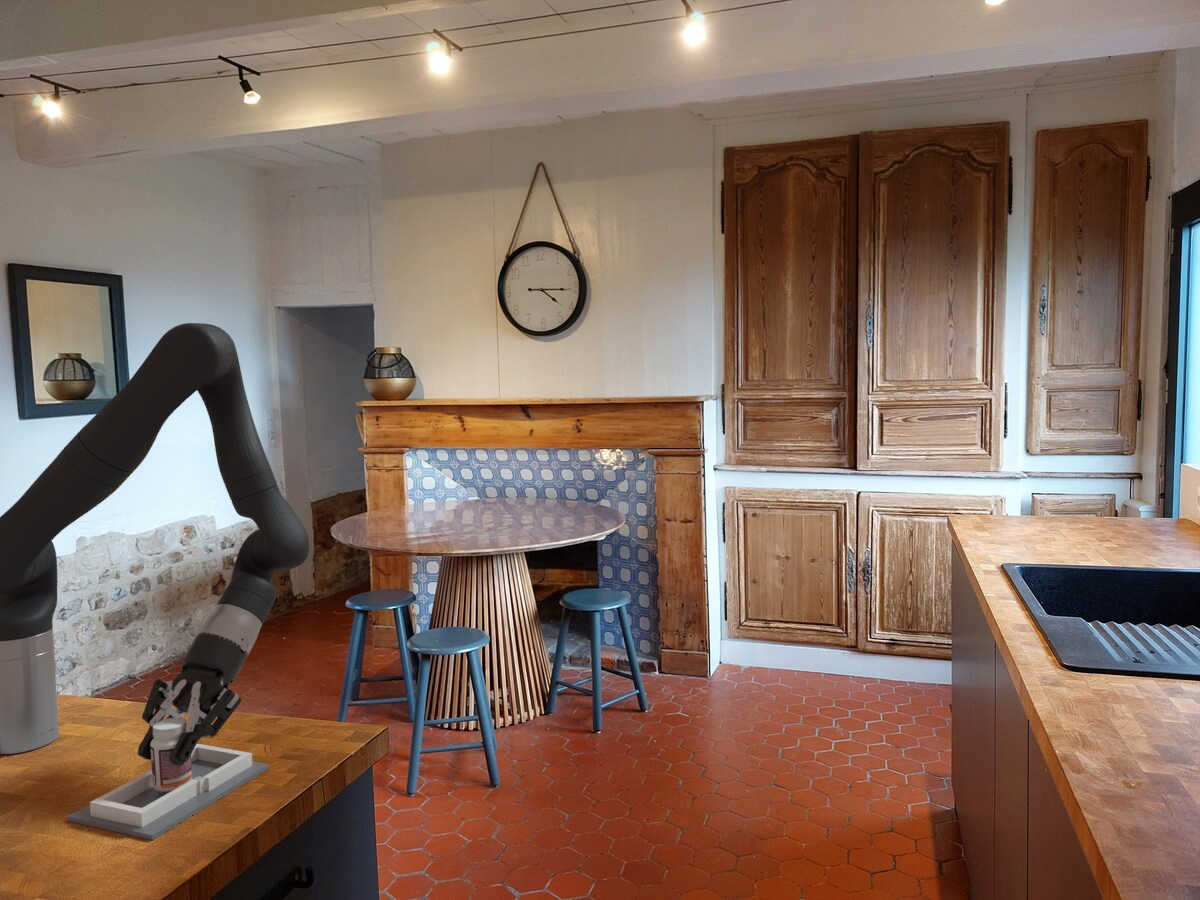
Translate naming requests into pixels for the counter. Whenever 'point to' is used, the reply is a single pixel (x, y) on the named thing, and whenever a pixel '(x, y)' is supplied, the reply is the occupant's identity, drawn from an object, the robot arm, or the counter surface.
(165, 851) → the counter surface
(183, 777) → the pill bottle
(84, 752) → the counter surface
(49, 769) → the counter surface
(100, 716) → the counter surface
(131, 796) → the walled tray base
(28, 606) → the robot arm
